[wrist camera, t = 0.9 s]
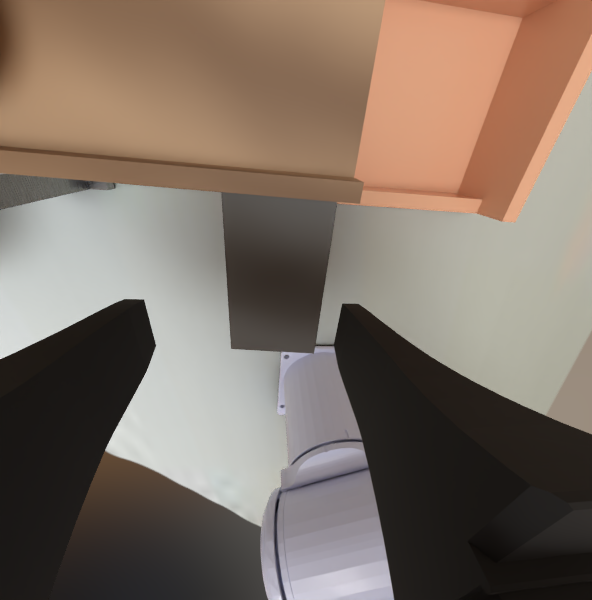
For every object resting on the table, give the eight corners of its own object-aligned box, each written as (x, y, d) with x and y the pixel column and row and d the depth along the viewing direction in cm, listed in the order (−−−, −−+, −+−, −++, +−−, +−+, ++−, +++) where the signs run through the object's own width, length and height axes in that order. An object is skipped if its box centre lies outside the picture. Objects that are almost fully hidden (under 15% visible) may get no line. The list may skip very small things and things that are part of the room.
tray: (458, 204, 18) (515, 222, 14) (321, 194, 17) (338, 210, 13) (534, 3, 13) (659, -65, 9) (348, -30, 12) (390, -126, 8)
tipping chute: (321, 337, 14) (328, 389, 11) (26, 318, 13) (-53, 368, 10) (403, -155, 6) (503, -437, 3) (-289, -255, 5) (-954, -716, 3)
